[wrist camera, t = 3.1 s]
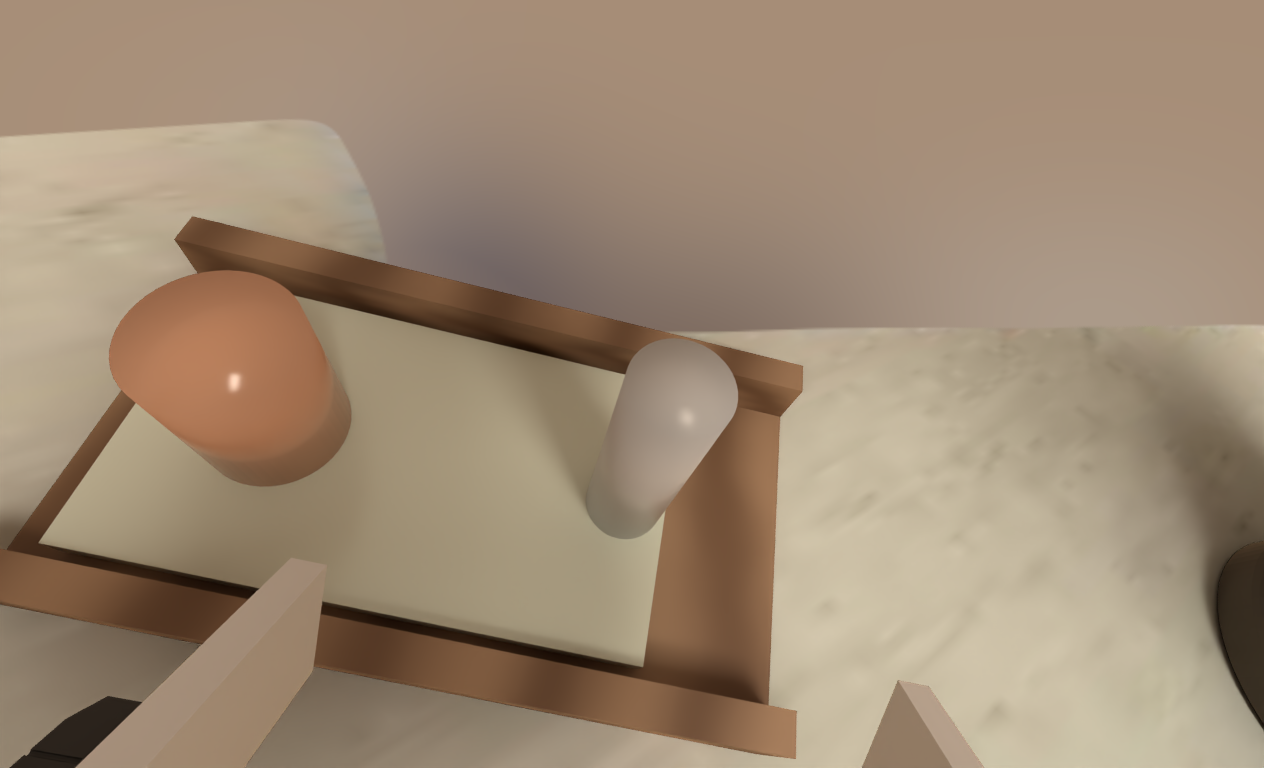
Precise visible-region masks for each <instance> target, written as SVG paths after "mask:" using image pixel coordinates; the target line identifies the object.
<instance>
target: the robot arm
mask: <svg viewBox="0 0 1264 768" xmlns="http://www.w3.org/2000/svg"><path fill="white" fill-rule="evenodd" d="M326 570H327V565H325V564H320V563H315V562H310V561H305V560H300V559H295V558H290V559H289V560H288V561H287V562H286V563H285V564H284V565H283V566H282V567H281V568H280V569H279V570H278V571H277V572H276V573H275V574H274V575H273V576H272V577H271V578H270V579H269V580H268V581H267V582H266V583H265V584H264V585H263V586H262V587H261V588H260V589H259V590H257V591H256V592H255V593H254V594H253V595H252V596H251V597H250V598H249V599H248V600H247V601H246V602H245V603H244V604H243V605H242V606H241V607H240V608H239V609H238V610H237V611H236V612H235V613H234V614H233V615H232V616H231V617H230V618H229V619H228V620H227V621H226V622H225V623H224V624H223V625H221V626H220V627H219V628H218V629H217V630H216V631H215V632H214V633H213V634H212V635H211V636H210V637H209V638H208V639H207V640H206V641H205V642H204V643H203V644H202V645H201V646H200V647H199V648H198V649H197V650H196V651H195V652H194V653H193V654H192V655H191V656H190V657H189V658H188V659H187V660H186V661H184V662H183V663H182V664H181V665H180V666H179V667H178V668H177V669H176V670H175V671H174V672H173V673H172V674H171V675H170V676H169V677H168V678H167V679H166V680H165V681H164V682H163V683H162V684H161V685H160V686H159V687H158V688H157V689H156V690H155V691H154V692H153V693H152V694H151V695H150V696H148V697H147V698H146V699H145V700H144V701H143V702H137V701H132V700H126V699H121V698H115V697H110V696H108V697H106V698H104V699H102V700H100V701H98V702H96V703H95V704H93V705H91V706H89V707H87V708H85V709H83V710H82V711H80V712H78V713H76V714H74V715H72V716H70V717H69V718H67V719H65V720H64V721H63V722H62V723H61V724H59V725H58V726H57V727H56V728H55V729H54V730H53V731H51V732H50V733H49V734H48V735H47V736H46V737H44V738H43V739H42V740H41V741H40V742H39V743H38V744H36V745H35V746H34V747H33V748H32V749H31V751H30V753H29V754H28V755H27V756H25V755H24V756H23V757H21V758H20V759H19V760H18V761H17V762H16V763H15V764H13V765H12V766H11V767H10V768H244V767H245V766H246V765H247V763H248V762H249V760H250V759H251V758H252V756H253V755H254V753H255V752H256V750H257V749H258V748H259V746H260V745H261V743H262V742H263V741H264V739H265V738H266V736H267V735H268V734H269V732H270V731H271V729H272V728H273V727H274V725H275V724H276V722H277V721H278V719H279V718H280V717H281V715H282V714H283V712H284V711H285V710H286V708H287V707H288V705H289V704H290V703H291V701H292V700H293V698H294V697H295V696H296V694H297V693H298V691H299V690H300V689H301V687H302V686H303V684H304V683H305V681H306V680H307V679H308V677H309V676H310V674H311V673H312V672H313V666H314V658H315V651H316V644H317V636H318V629H319V621H320V614H321V607H322V599H323V592H324V584H325V577H326ZM1218 614H1219V622H1220V627H1221V632H1222V636H1223V640H1224V644H1225V647H1226V650H1227V653H1228V656H1229V658H1230V661H1231V664H1232V666H1233V668H1234V671H1235V673H1236V675H1237V678H1238V680H1239V682H1240V684H1241V686H1242V688H1243V690H1244V692H1245V694H1246V695H1247V697H1248V699H1249V701H1250V703H1251V704H1252V706H1253V708H1254V709H1255V711H1256V713H1257V714H1258V716H1259V717H1260V719H1261V720H1262V722H1263V723H1264V541H1260V542H1256V543H1252V544H1250V545H1247V546H1245V547H1243V548H1242V549H1240V550H1239V551H1237V552H1236V553H1235V554H1234V555H1233V556H1232V557H1231V558H1230V559H1229V561H1228V562H1227V564H1226V566H1225V568H1224V570H1223V572H1222V575H1221V578H1220V583H1219V589H1218ZM862 768H984V767H983V765H982V764H981V762H980V761H979V759H978V758H977V756H976V755H975V753H974V752H973V750H972V749H971V748H970V746H969V745H968V743H967V742H966V740H965V739H964V737H963V736H962V734H961V733H960V731H959V730H958V728H957V727H956V726H955V724H954V723H953V721H952V720H951V718H950V717H949V715H948V714H947V712H946V711H945V709H944V708H943V706H942V705H941V704H940V702H939V701H938V699H937V698H936V696H935V695H934V693H933V692H932V690H931V689H930V687H929V686H924V685H919V684H914V683H909V682H904V681H899V680H898V681H897V684H896V686H895V689H894V691H893V694H892V696H891V698H890V701H889V703H888V706H887V708H886V711H885V713H884V715H883V718H882V720H881V723H880V725H879V728H878V730H877V732H876V735H875V737H874V740H873V742H872V745H871V747H870V749H869V752H868V754H867V757H866V759H865V762H864V764H863V766H862Z"/></svg>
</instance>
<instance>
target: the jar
mask: <svg viewBox="0 0 1264 768" xmlns="http://www.w3.org/2000/svg"><path fill="white" fill-rule="evenodd" d="M109 363H110V369H111V372H112V375H113V378H114V380H115V381H116V383H117V385H118V386H119V388H120V389H121V390H122V391H123V392H124V393H125V394H126V395H127V396H128V397H129V398H131V399H132V400H133V401H134V402H135V403H137V404H138V405H139V406H140V407H141V408H143V409H144V410H145V411H146V412H148V413H149V414H150V415H151V416H152V417H154V418H155V419H156V420H157V421H158V422H160V423H161V424H162V425H163V426H164V427H166V428H167V429H168V430H169V431H170V432H172V433H173V434H174V435H175V436H177V437H178V438H179V439H180V440H181V441H183V442H184V443H185V444H186V445H187V446H189V447H190V448H191V449H192V450H193V451H195V452H196V453H197V454H198V455H200V456H201V457H202V458H203V459H204V460H206V461H207V462H208V463H209V464H210V465H212V466H213V467H214V468H215V469H216V470H218V471H219V472H220V473H221V474H223V475H224V476H226V477H228V478H229V479H231V480H233V481H236V482H238V483H241V484H246V485H250V486H259V487H264V486H278V485H283V484H287V483H291V482H294V481H297V480H300V479H302V478H304V477H306V476H309V475H310V474H312V473H314V472H315V471H317V470H319V469H320V468H321V467H323V466H324V465H325V464H326V463H327V462H329V461H330V460H331V459H332V458H333V457H334V455H335V454H336V453H337V452H338V451H339V449H340V448H341V446H342V445H343V443H344V441H345V439H346V437H347V435H348V432H349V429H350V424H351V406H350V402H349V399H348V396H347V394H346V393H345V391H344V389H343V387H342V385H341V383H340V381H339V379H338V377H337V375H336V373H335V371H334V369H333V367H332V365H331V363H330V361H329V359H328V357H327V356H326V354H325V352H324V350H323V348H322V346H321V344H320V342H319V340H318V338H317V336H316V334H315V332H314V330H313V328H312V326H311V324H310V322H309V321H308V319H307V317H306V315H305V313H304V311H303V309H302V307H301V305H300V303H299V302H298V300H297V299H296V298H295V296H294V295H293V294H292V293H291V292H290V291H289V290H288V289H286V288H285V287H283V286H282V285H281V284H279V283H277V282H275V281H273V280H272V279H269V278H267V277H264V276H261V275H258V274H254V273H250V272H243V271H232V270H222V271H210V272H203V273H198V274H193V275H190V276H186V277H183V278H180V279H177V280H175V281H172V282H170V283H168V284H166V285H164V286H162V287H160V288H158V289H156V290H154V291H153V292H151V293H150V294H148V295H147V296H145V297H144V298H143V299H142V300H140V301H139V302H138V303H137V304H136V305H135V306H134V307H133V308H132V309H131V310H130V311H129V312H128V313H127V314H126V315H125V317H124V318H123V319H122V320H121V322H120V324H119V325H118V327H117V329H116V331H115V333H114V335H113V338H112V341H111V345H110V350H109Z"/></svg>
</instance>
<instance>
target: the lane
mask: <svg viewBox="0 0 1264 768" xmlns="http://www.w3.org/2000/svg"><path fill="white" fill-rule="evenodd" d="M175 241H176V242H177V244H178V245H179V247H180V248H181V250H182V251H183V252H184V254H185V255H186V257H187V258H188V260H189V261H190V263H191V264H192V265H193V267H194V268H195V270H196V271H197V273H203V272H210V271H222V270H232V271H243V272H250V273H254V274H258V275H261V276H264V277H267V278H269V279H272V280H273V281H275V282H277V283H279V284H281V285H282V286H283V287H285V288H286V289H288V290H289V291H290V292H291V293H292V294H293V295H294V296H298V297H302V298H307V299H311V300H315V301H319V302H323V303H328V304H332V305H336V306H340V307H344V308H348V309H353V310H357V311H361V312H365V313H369V314H374V315H378V316H382V317H386V318H390V319H395V320H399V321H403V322H407V323H411V324H415V325H420V326H424V327H428V328H432V329H436V330H441V331H445V332H449V333H453V334H457V335H461V336H466V337H470V338H474V339H478V340H482V341H487V342H491V343H495V344H499V345H503V346H507V347H512V348H516V349H520V350H524V351H528V352H533V353H537V354H541V355H545V356H549V357H553V358H558V359H562V360H566V361H570V362H574V363H579V364H583V365H587V366H591V367H595V368H600V369H604V370H608V371H612V372H616V373H620V374H626V371H627V368H628V366H629V364H630V361H631V360H632V358H633V357H634V356H635V354H636V353H637V352H638V351H639V350H641V349H642V348H643V347H645V346H646V345H648V344H650V343H652V342H655V341H658V340H662V339H670V338H677V339H685V340H690V341H693V342H696V343H699V344H701V345H703V346H705V347H707V348H709V349H710V350H712V351H713V352H715V353H716V354H717V355H718V356H719V357H720V358H721V359H722V360H723V361H724V362H725V363H726V364H727V366H728V367H729V368H730V370H731V372H732V374H733V376H734V378H735V381H736V384H737V389H738V403H737V408H736V411H735V414H734V415H733V417H732V419H731V420H730V422H729V423H728V425H727V426H726V427H725V429H724V430H723V431H722V433H721V434H720V436H719V437H718V438H717V440H716V441H715V443H714V444H713V445H712V447H711V448H710V449H709V451H708V452H707V454H706V455H705V456H704V458H703V459H702V460H701V462H700V463H699V465H698V466H697V467H696V469H695V470H694V471H693V473H692V474H691V476H690V477H689V478H688V480H687V481H686V483H685V484H684V485H683V487H682V488H681V489H680V491H679V492H678V494H677V495H676V496H675V498H674V499H673V500H672V502H671V503H670V505H669V506H668V507H667V509H666V510H665V517H664V524H663V531H662V538H661V545H660V552H659V559H658V566H657V573H656V580H655V587H654V594H653V601H652V608H651V615H650V622H649V629H648V636H647V643H646V650H645V657H644V664H643V667H642V668H640V669H633V668H628V667H623V666H618V665H614V664H609V663H604V662H599V661H594V660H589V659H584V658H579V657H575V656H570V655H565V654H560V653H555V652H550V651H545V650H540V649H536V648H531V647H526V646H521V645H516V644H511V643H506V642H501V641H496V640H492V639H487V638H482V637H477V636H472V635H467V634H462V633H457V632H453V631H448V630H443V629H438V628H433V627H428V626H423V625H418V624H414V623H409V622H404V621H399V620H394V619H389V618H384V617H379V616H375V615H370V614H365V613H360V612H355V611H350V610H345V609H340V608H336V607H331V606H326V605H322V607H321V614H320V621H319V629H318V636H317V644H316V651H315V658H314V667H319V668H324V669H329V670H335V671H340V672H345V673H350V674H355V675H360V676H365V677H370V678H375V679H380V680H385V681H390V682H395V683H400V684H405V685H410V686H415V687H420V688H425V689H431V690H436V691H441V692H446V693H451V694H456V695H461V696H466V697H471V698H476V699H481V700H486V701H491V702H496V703H501V704H506V705H511V706H516V707H521V708H527V709H532V710H537V711H542V712H547V713H552V714H557V715H562V716H567V717H572V718H577V719H582V720H587V721H592V722H597V723H602V724H607V725H612V726H617V727H623V728H628V729H633V730H638V731H643V732H648V733H653V734H658V735H663V736H668V737H673V738H678V739H683V740H688V741H693V742H698V743H703V744H708V745H713V746H718V747H724V748H729V749H734V750H739V751H744V752H749V753H754V754H760V755H768V756H776V757H785V758H793V759H796V713H797V711H793V710H789V709H784V708H779V707H774V706H769V705H768V702H769V677H770V653H771V628H772V603H773V578H774V554H775V529H776V504H777V480H778V455H779V430H780V416H781V415H782V414H783V413H784V412H785V411H786V409H787V408H788V407H789V406H790V405H791V404H792V403H793V401H794V400H795V399H796V398H797V397H798V396H799V395H800V394H801V392H802V388H803V366H801V365H797V364H793V363H789V362H785V361H781V360H777V359H772V358H768V357H764V356H760V355H756V354H752V353H748V352H744V351H740V350H736V349H732V348H728V347H724V346H719V345H715V344H711V343H707V342H703V341H699V340H695V339H691V338H687V337H683V336H679V335H675V334H670V333H666V332H662V331H658V330H654V329H650V328H646V327H642V326H638V325H634V324H629V323H625V322H621V321H617V320H613V319H609V318H605V317H601V316H597V315H593V314H589V313H584V312H581V311H577V310H572V309H568V308H564V307H560V306H556V305H552V304H548V303H544V302H540V301H536V300H532V299H528V298H524V297H519V296H515V295H511V294H507V293H503V292H499V291H494V290H491V289H487V288H483V287H479V286H474V285H470V284H466V283H462V282H458V281H454V280H450V279H446V278H442V277H438V276H434V275H430V274H426V273H422V272H417V271H413V270H409V269H405V268H401V267H397V266H393V265H389V264H385V263H381V262H377V261H373V260H369V259H364V258H360V257H356V256H352V255H348V254H344V253H340V252H336V251H332V250H328V249H324V248H320V247H315V246H311V245H307V244H303V243H299V242H295V241H291V240H287V239H283V238H279V237H275V236H271V235H267V234H262V233H258V232H254V231H250V230H246V229H242V228H238V227H234V226H230V225H226V224H222V223H218V222H213V221H209V220H205V219H201V218H197V217H193V216H192V218H191V219H190V220H189V221H188V223H187V224H186V225H185V226H184V228H183V229H182V230H181V231H180V233H179V234H178V235H177V237H176V238H175ZM134 405H135V402H134V401H133V400H132V399H131V398H129V397H128V396H127V395H126V394H125V393H124V392H123V391H122V390H121V392H120V393H119V395H118V396H117V397H116V399H115V400H114V401H113V403H112V404H111V406H110V407H109V408H108V410H107V411H106V413H105V414H104V415H103V417H102V418H101V419H100V421H99V422H98V424H97V425H96V426H95V428H94V429H93V431H92V432H91V433H90V435H89V436H88V437H87V439H86V440H85V442H84V443H83V444H82V446H81V447H80V449H79V450H78V451H77V453H76V454H75V456H74V457H73V458H72V460H71V461H70V462H69V464H68V465H67V467H66V468H65V469H64V471H63V472H62V474H61V475H60V476H59V478H58V479H57V480H56V482H55V483H54V485H53V486H52V487H51V489H50V490H49V492H48V493H47V494H46V496H45V497H44V498H43V500H42V501H41V503H40V504H39V505H38V507H37V508H36V510H35V511H34V512H33V514H32V515H31V516H30V518H29V519H28V521H27V522H26V523H25V525H24V526H23V528H22V529H21V530H20V532H19V533H18V535H17V536H16V537H15V539H14V540H13V541H12V543H11V544H10V546H9V547H8V548H7V550H4V549H0V604H1V605H6V606H11V607H16V608H21V609H26V610H31V611H36V612H41V613H47V614H52V615H57V616H62V617H67V618H72V619H77V620H82V621H87V622H92V623H97V624H102V625H107V626H112V627H117V628H122V629H127V630H132V631H137V632H143V633H148V634H153V635H158V636H163V637H168V638H173V639H178V640H183V641H188V642H193V643H198V644H203V643H204V642H205V641H206V640H207V639H208V638H209V637H210V636H211V635H212V634H213V633H214V632H215V631H216V630H217V629H218V628H219V627H220V626H221V625H223V624H224V623H225V622H226V621H227V620H228V619H229V618H230V617H231V616H232V615H233V614H234V613H235V612H236V611H237V610H238V609H239V608H240V607H241V606H242V605H243V604H244V603H245V602H246V601H247V600H248V599H249V598H250V597H251V596H252V595H253V594H254V593H255V592H256V591H253V590H248V589H243V588H238V587H233V586H228V585H223V584H218V583H214V582H209V581H204V580H199V579H194V578H189V577H184V576H179V575H175V574H170V573H165V572H160V571H155V570H150V569H145V568H140V567H136V566H131V565H126V564H121V563H116V562H111V561H106V560H101V559H97V558H92V557H87V556H82V555H77V554H72V553H67V552H62V551H58V550H55V549H53V548H50V547H48V546H45V545H42V544H40V543H38V542H39V541H40V540H41V538H42V537H43V535H44V534H45V532H46V531H47V530H48V528H49V527H50V525H51V524H52V522H53V521H54V520H55V518H56V517H57V515H58V514H59V512H60V511H61V509H62V508H63V507H64V505H65V504H66V502H67V501H68V499H69V498H70V497H71V495H72V494H73V492H74V491H75V489H76V488H77V487H78V485H79V484H80V482H81V481H82V479H83V478H84V477H85V475H86V474H87V472H88V471H89V469H90V468H91V466H92V465H93V464H94V462H95V461H96V459H97V458H98V456H99V455H100V454H101V452H102V451H103V449H104V448H105V446H106V445H107V444H108V442H109V441H110V439H111V438H112V436H113V435H114V433H115V432H116V431H117V429H118V428H119V426H120V425H121V423H122V422H123V421H124V419H125V418H126V416H127V415H128V413H129V412H130V411H131V409H132V408H133V406H134Z"/></svg>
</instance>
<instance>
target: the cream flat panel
mask: <svg viewBox="0 0 1264 768" xmlns="http://www.w3.org/2000/svg"><path fill="white" fill-rule="evenodd" d="M295 298H296V299H297V300H298V302H299V303H300V305H301V307H302V309H303V311H304V313H305V315H306V317H307V319H308V321H309V322H310V324H311V326H312V328H313V330H314V332H315V334H316V336H317V338H318V340H319V342H320V344H321V346H322V348H323V350H324V352H325V354H326V356H327V357H328V359H329V361H330V363H331V365H332V367H333V369H334V371H335V373H336V375H337V377H338V379H339V381H340V383H341V385H342V387H343V389H344V391H345V393H346V394H347V396H348V399H349V402H350V406H351V424H350V429H349V432H348V435H347V437H346V439H345V441H344V443H343V445H342V446H341V448H340V449H339V451H338V452H337V453H336V454H335V455H334V457H333V458H332V459H331V460H330V461H329V462H327V463H326V464H325V465H324V466H323V467H321V468H320V469H319V470H317V471H315V472H314V473H312V474H310V475H309V476H306V477H304V478H302V479H300V480H297V481H294V482H291V483H287V484H283V485H278V486H264V487H259V486H250V485H246V484H241V483H238V482H236V481H233V480H231V479H229V478H228V477H226V476H224V475H223V474H221V473H220V472H219V471H218V470H216V469H215V468H214V467H213V466H212V465H210V464H209V463H208V462H207V461H206V460H204V459H203V458H202V457H201V456H200V455H198V454H197V453H196V452H195V451H193V450H192V449H191V448H190V447H189V446H187V445H186V444H185V443H184V442H183V441H181V440H180V439H179V438H178V437H177V436H175V435H174V434H173V433H172V432H170V431H169V430H168V429H167V428H166V427H164V426H163V425H162V424H161V423H160V422H158V421H157V420H156V419H155V418H154V417H152V416H151V415H150V414H149V413H148V412H146V411H145V410H144V409H143V408H141V407H140V406H139V405H138V404H137V403H135V405H134V406H133V408H132V409H131V411H130V412H129V413H128V415H127V416H126V418H125V419H124V421H123V422H122V423H121V425H120V426H119V428H118V429H117V431H116V432H115V433H114V435H113V436H112V438H111V439H110V441H109V442H108V444H107V445H106V446H105V448H104V449H103V451H102V452H101V454H100V455H99V456H98V458H97V459H96V461H95V462H94V464H93V465H92V466H91V468H90V469H89V471H88V472H87V474H86V475H85V477H84V478H83V479H82V481H81V482H80V484H79V485H78V487H77V488H76V489H75V491H74V492H73V494H72V495H71V497H70V498H69V499H68V501H67V502H66V504H65V505H64V507H63V508H62V509H61V511H60V512H59V514H58V515H57V517H56V518H55V520H54V521H53V522H52V524H51V525H50V527H49V528H48V530H47V531H46V532H45V534H44V535H43V537H42V538H41V540H40V541H39V542H38V543H40V544H42V545H45V546H48V547H50V548H53V549H55V550H58V551H62V552H67V553H72V554H77V555H82V556H87V557H92V558H97V559H101V560H106V561H111V562H116V563H121V564H126V565H131V566H136V567H140V568H145V569H150V570H155V571H160V572H165V573H170V574H175V575H179V576H184V577H189V578H194V579H199V580H204V581H209V582H214V583H218V584H223V585H228V586H233V587H238V588H243V589H248V590H253V591H257V590H259V589H260V588H261V587H262V586H263V585H264V584H265V583H266V582H267V581H268V580H269V579H270V578H271V577H272V576H273V575H274V574H275V573H276V572H277V571H278V570H279V569H280V568H281V567H282V566H283V565H284V564H285V563H286V562H287V561H288V560H289V559H290V558H295V559H300V560H305V561H310V562H315V563H320V564H325V565H327V570H326V577H325V584H324V592H323V599H322V605H326V606H331V607H336V608H340V609H345V610H350V611H355V612H360V613H365V614H370V615H375V616H379V617H384V618H389V619H394V620H399V621H404V622H409V623H414V624H418V625H423V626H428V627H433V628H438V629H443V630H448V631H453V632H457V633H462V634H467V635H472V636H477V637H482V638H487V639H492V640H496V641H501V642H506V643H511V644H516V645H521V646H526V647H531V648H536V649H540V650H545V651H550V652H555V653H560V654H565V655H570V656H575V657H579V658H584V659H589V660H594V661H599V662H604V663H609V664H614V665H618V666H623V667H628V668H633V669H640V668H642V667H643V664H644V657H645V650H646V643H647V636H648V629H649V622H650V615H651V608H652V601H653V594H654V587H655V580H656V573H657V566H658V559H659V552H660V545H661V538H662V531H663V524H664V517H665V510H666V509H667V507H668V506H669V505H670V503H671V502H672V500H673V499H674V498H675V496H676V495H677V494H678V492H679V491H680V489H681V488H682V487H683V485H684V484H685V483H686V481H687V480H688V478H689V477H690V476H691V474H692V473H693V471H694V470H695V469H696V467H697V466H698V465H699V463H700V462H701V460H702V459H703V458H704V456H705V455H706V454H707V452H708V451H709V449H710V448H711V447H712V445H713V444H714V443H715V441H716V440H717V438H718V437H719V436H720V434H721V433H722V431H723V430H724V429H725V427H726V426H727V425H728V423H729V422H730V420H731V419H732V417H733V415H734V414H735V411H736V408H737V403H738V389H737V384H736V381H735V378H734V376H733V374H732V372H731V370H730V368H729V367H728V366H727V364H726V363H725V362H724V361H723V360H722V359H721V358H720V357H719V356H718V355H717V354H716V353H715V352H713V351H712V350H710V349H709V348H707V347H705V346H703V345H701V344H699V343H696V342H693V341H690V340H685V339H677V338H670V339H662V340H658V341H655V342H652V343H650V344H648V345H646V346H645V347H643V348H642V349H641V350H639V351H638V352H637V353H636V354H635V356H634V357H633V358H632V360H631V361H630V364H629V366H628V368H627V371H626V374H620V373H616V372H612V371H608V370H604V369H600V368H595V367H591V366H587V365H583V364H579V363H574V362H570V361H566V360H562V359H558V358H553V357H549V356H545V355H541V354H537V353H533V352H528V351H524V350H520V349H516V348H512V347H507V346H503V345H499V344H495V343H491V342H487V341H482V340H478V339H474V338H470V337H466V336H461V335H457V334H453V333H449V332H445V331H441V330H436V329H432V328H428V327H424V326H420V325H415V324H411V323H407V322H403V321H399V320H395V319H390V318H386V317H382V316H378V315H374V314H369V313H365V312H361V311H357V310H353V309H348V308H344V307H340V306H336V305H332V304H328V303H323V302H319V301H315V300H311V299H307V298H302V297H298V296H295Z"/></svg>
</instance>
